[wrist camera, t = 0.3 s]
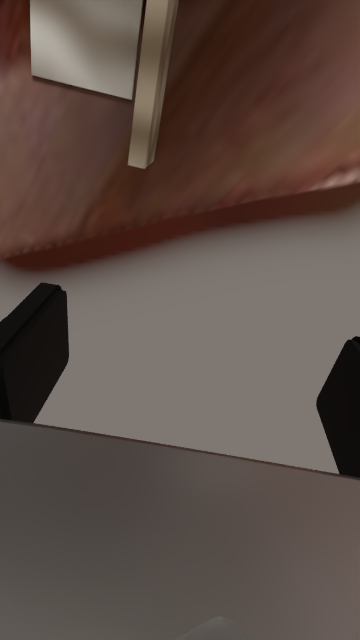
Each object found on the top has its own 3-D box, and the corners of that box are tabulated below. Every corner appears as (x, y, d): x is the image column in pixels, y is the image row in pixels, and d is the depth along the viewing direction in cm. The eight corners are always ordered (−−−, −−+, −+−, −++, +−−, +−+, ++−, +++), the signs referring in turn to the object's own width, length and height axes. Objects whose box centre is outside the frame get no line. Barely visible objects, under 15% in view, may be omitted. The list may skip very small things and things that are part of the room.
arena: (-35, -144, 26) (-94, -204, 21) (191, -82, 27) (186, -126, 22) (-12, 120, 36) (-49, 122, 31) (154, 160, 37) (144, 169, 32)
